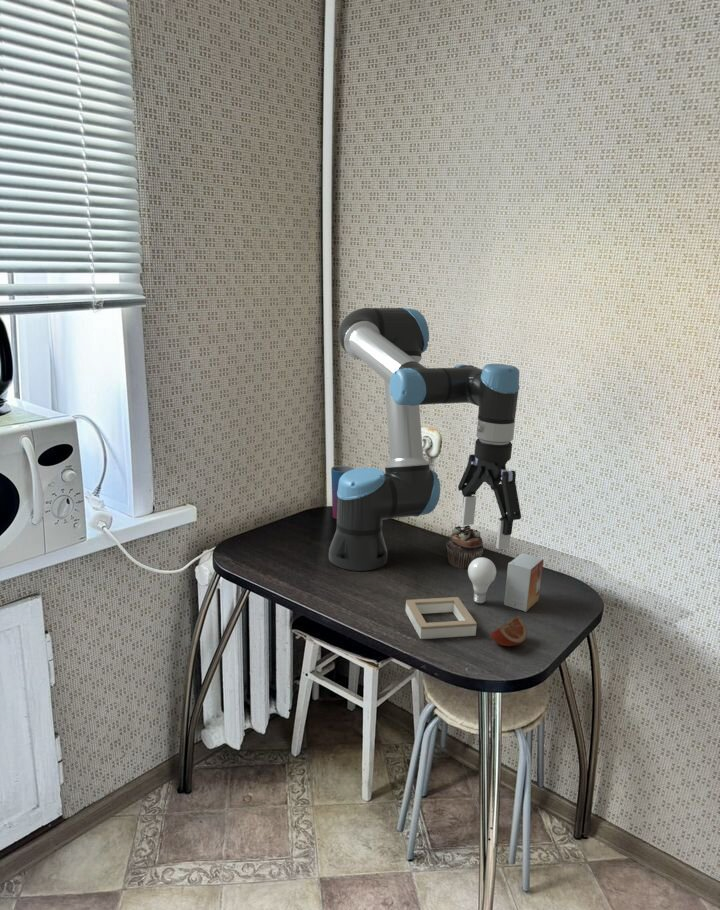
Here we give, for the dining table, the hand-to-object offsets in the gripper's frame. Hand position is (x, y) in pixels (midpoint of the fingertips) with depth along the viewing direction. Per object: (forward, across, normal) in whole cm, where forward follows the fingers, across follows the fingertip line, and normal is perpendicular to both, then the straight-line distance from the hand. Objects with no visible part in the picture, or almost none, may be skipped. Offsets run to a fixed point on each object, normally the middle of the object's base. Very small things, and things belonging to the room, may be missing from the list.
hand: (484, 535), depth 153 cm
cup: (+20, -66, -6) cm, 69 cm away
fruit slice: (+19, +13, 0) cm, 23 cm away
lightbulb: (+19, -4, +4) cm, 20 cm away
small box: (+19, -2, +13) cm, 23 cm away
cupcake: (+19, -25, +12) cm, 34 cm away
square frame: (+19, +1, -10) cm, 21 cm away
